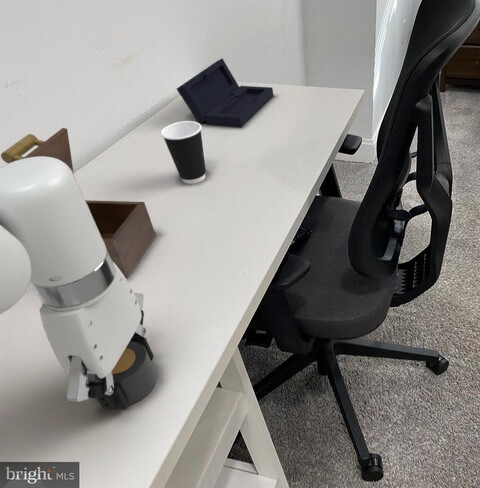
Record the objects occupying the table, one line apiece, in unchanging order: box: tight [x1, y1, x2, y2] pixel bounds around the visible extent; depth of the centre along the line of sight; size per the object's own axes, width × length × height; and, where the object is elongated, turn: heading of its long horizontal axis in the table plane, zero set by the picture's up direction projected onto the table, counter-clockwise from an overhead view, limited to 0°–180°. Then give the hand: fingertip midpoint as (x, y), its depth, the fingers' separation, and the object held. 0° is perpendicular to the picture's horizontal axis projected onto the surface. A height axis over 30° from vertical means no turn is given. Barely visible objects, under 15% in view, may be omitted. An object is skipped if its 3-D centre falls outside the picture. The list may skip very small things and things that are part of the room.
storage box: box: [176, 57, 274, 128], centre depth 127 cm, size 21×16×10 cm
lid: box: [0, 127, 75, 175], centre depth 74 cm, size 13×11×5 cm
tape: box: [95, 341, 158, 406], centre depth 59 cm, size 6×6×5 cm
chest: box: [85, 199, 157, 279], centre depth 80 cm, size 13×11×7 cm
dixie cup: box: [160, 120, 207, 185], centre depth 98 cm, size 8×8×11 cm
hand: (129, 380), depth 60 cm, fingers closed on tape, 6 cm apart
